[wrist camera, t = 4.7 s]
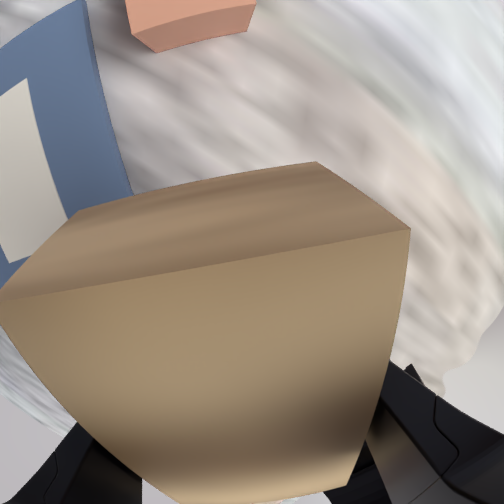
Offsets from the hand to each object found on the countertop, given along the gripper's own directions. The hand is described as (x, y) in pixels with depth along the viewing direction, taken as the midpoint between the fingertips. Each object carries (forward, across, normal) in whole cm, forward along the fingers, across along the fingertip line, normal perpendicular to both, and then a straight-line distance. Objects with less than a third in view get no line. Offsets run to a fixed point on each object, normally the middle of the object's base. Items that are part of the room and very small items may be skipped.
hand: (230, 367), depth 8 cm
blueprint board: (+11, +13, -7) cm, 19 cm away
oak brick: (+1, 0, 0) cm, 1 cm away
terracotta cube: (+11, -1, -13) cm, 17 cm away
